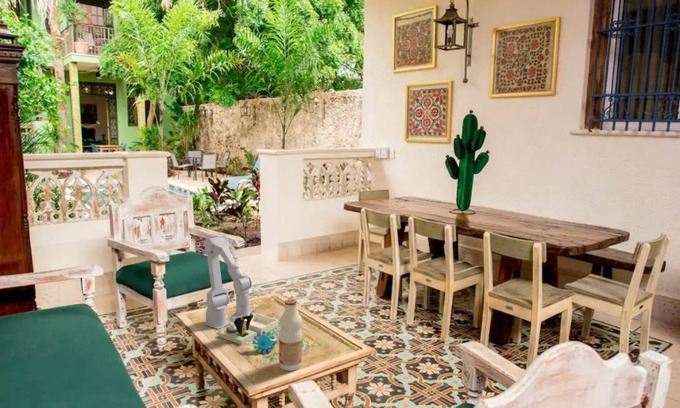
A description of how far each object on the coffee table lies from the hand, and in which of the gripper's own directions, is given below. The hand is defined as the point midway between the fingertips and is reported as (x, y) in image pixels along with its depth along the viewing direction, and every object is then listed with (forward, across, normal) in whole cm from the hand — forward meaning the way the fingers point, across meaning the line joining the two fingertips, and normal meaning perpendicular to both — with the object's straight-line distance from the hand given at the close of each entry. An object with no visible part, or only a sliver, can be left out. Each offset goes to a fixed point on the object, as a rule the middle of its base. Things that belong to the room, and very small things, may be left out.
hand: (242, 331), depth 214 cm
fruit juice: (+4, -7, -33) cm, 34 cm away
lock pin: (+3, 0, 0) cm, 3 cm away
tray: (+3, +13, +2) cm, 14 cm away
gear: (+4, -3, -16) cm, 17 cm away
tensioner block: (+4, 0, +3) cm, 5 cm away
